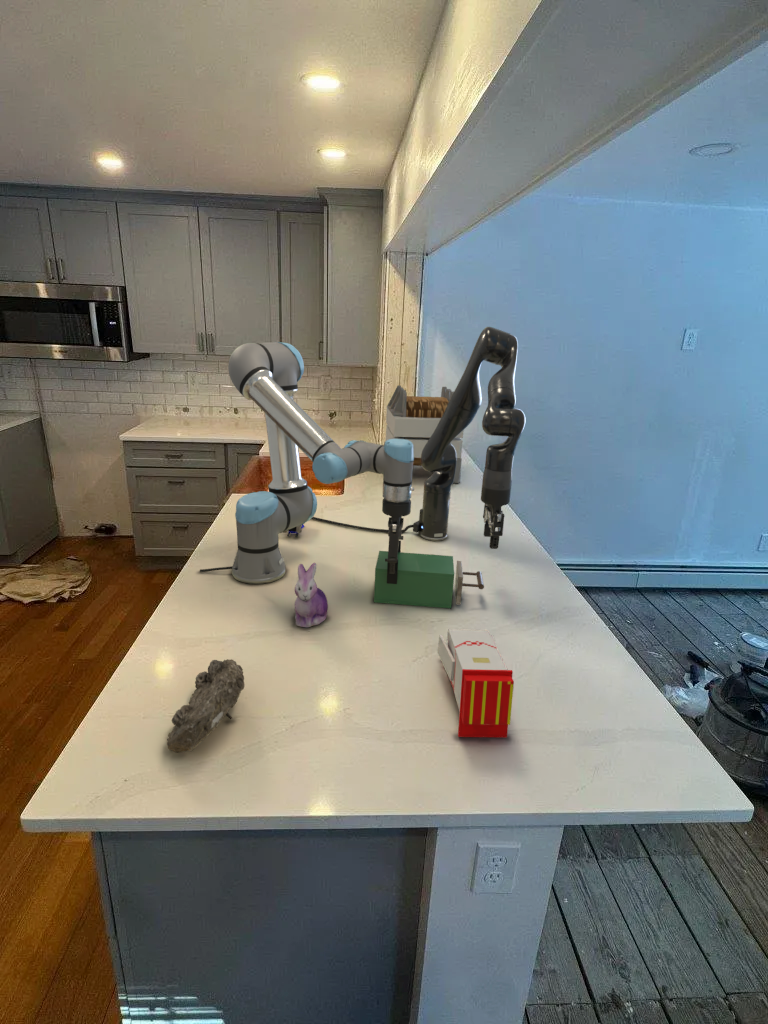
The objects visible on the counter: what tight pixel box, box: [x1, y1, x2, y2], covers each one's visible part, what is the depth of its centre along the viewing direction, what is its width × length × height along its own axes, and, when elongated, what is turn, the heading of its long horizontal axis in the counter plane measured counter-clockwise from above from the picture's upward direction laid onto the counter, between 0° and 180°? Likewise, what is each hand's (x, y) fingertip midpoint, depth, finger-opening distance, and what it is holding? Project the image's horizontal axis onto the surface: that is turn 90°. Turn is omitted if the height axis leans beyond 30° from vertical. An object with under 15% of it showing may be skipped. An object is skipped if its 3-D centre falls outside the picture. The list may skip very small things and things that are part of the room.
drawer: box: [454, 560, 485, 606], centre depth 155 cm, size 25×10×8 cm, turn 85°
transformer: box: [383, 384, 465, 484], centre depth 268 cm, size 34×33×41 cm
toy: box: [437, 628, 515, 738], centre depth 117 cm, size 12×13×30 cm
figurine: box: [293, 562, 329, 628], centre depth 140 cm, size 9×10×15 cm
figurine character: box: [282, 524, 305, 538], centre depth 196 cm, size 7×8×15 cm
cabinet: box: [373, 550, 455, 609], centre depth 156 cm, size 21×12×10 cm, turn 85°
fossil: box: [166, 658, 245, 754], centre depth 106 cm, size 22×10×15 cm
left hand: (393, 572), depth 156 cm, fingers open, 13 cm apart
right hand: (490, 542), depth 153 cm, fingers open, 8 cm apart
